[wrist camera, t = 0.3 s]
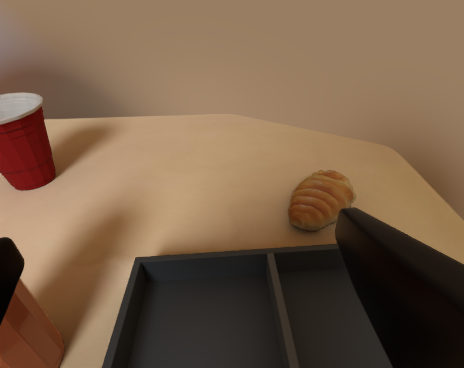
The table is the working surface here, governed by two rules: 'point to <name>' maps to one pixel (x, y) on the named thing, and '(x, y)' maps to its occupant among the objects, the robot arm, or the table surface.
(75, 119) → the table surface
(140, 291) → the tray
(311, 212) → the pastry
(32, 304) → the cup
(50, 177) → the plastic cup
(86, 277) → the table surface
